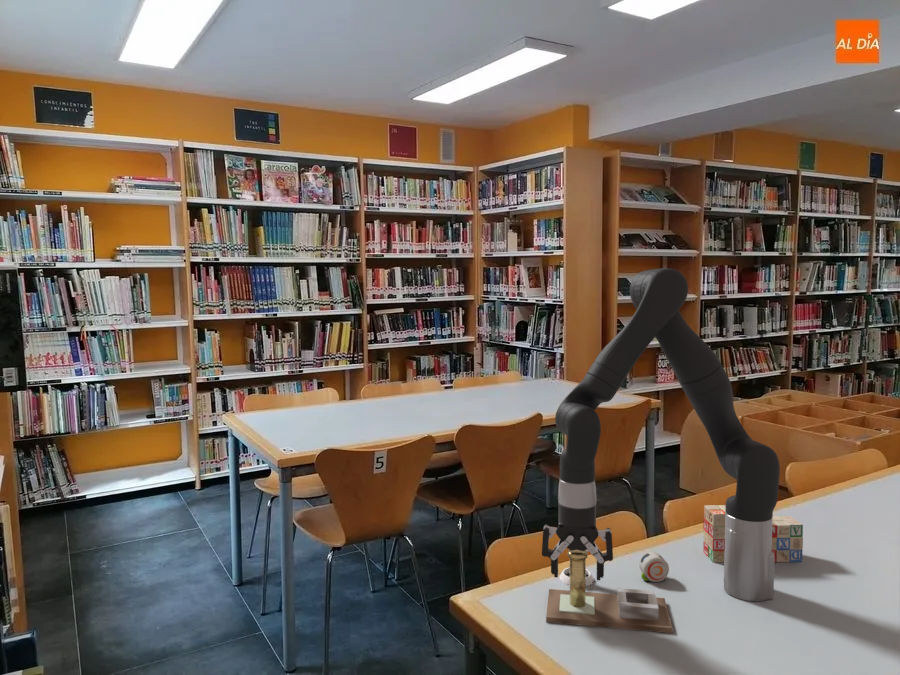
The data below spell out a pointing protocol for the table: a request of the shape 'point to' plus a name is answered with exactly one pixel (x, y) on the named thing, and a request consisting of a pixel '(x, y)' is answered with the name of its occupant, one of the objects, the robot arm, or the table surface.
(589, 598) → the sage pad
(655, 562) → the roller toy
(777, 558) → the stack of blocks
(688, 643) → the table surface
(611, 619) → the walnut board
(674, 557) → the table surface
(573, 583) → the brass peg
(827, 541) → the table surface
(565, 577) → the white vr controller
